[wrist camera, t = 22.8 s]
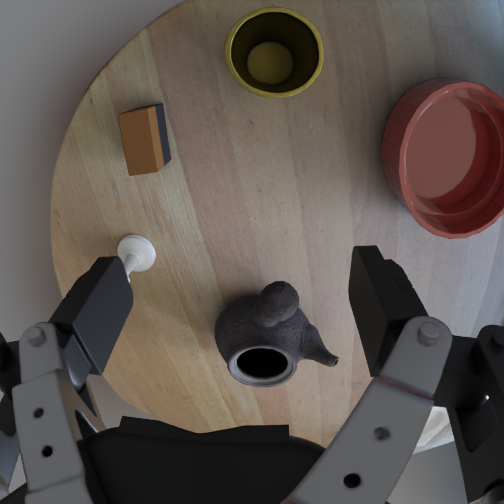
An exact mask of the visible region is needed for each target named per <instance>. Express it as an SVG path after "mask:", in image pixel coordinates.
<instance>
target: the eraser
mask: <svg viewBox="0 0 504 504" xmlns="http://www.w3.org/2000/svg"><path fill="white" fill-rule="evenodd" d="M118 119H119V125H120V130H121V136H122V142H123V147H124V152H125V157H126V162H127V167H128V172H129V176H132V175H139V174H146V173H154V172H158V171H159V170H160V169H161V168H162V167H163V166H165V165H166V164H167V163H168V162H169V161H170V160H171V156H170V149H169V143H168V136H167V130H166V123H165V116H164V109H163V103H162V104H156V105H151V106H145V107H140V108H136V109H132V110H129V111H126V112H123V113H120V114H118Z"/></svg>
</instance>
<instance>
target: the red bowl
mask: <svg viewBox="0 0 504 504" xmlns="http://www.w3.org/2000/svg"><path fill="white" fill-rule="evenodd" d="M382 162H383V167H384V173H385V177H386V180H387V182H388V184H389V186H390V188H391V191H392V193H393V195H394V196H395V197H396V198H397V199H398V200H399V202H400V203H401V204H402V205H403V206H404V207H405V208H406V210H407V211H408V212H409V213H410V214H411V215H412V216H413V217H414V219H415V220H416V221H417V222H418V223H419V224H420V225H421V226H422V227H423V228H425V229H426V230H428V231H429V232H431V233H432V234H434V235H437V236H441V237H445V238H448V239H453V238H466V237H469V236H472V235H475V234H478V233H480V232H482V231H483V230H485V229H486V228H488V227H489V226H491V225H492V224H494V223H495V222H496V221H497V219H498V218H499V217H500V216H501V215H502V214H503V213H504V100H503V99H502V98H501V97H500V96H499V95H498V94H497V93H496V92H494V91H492V90H491V89H489V88H488V87H486V86H484V85H481V84H477V83H473V82H468V81H462V80H455V79H447V78H440V79H433V80H427V81H425V82H423V83H421V84H419V85H417V86H415V87H413V88H411V89H410V90H409V91H408V92H407V93H406V94H405V95H404V96H403V97H402V98H401V99H400V100H399V101H398V102H397V104H396V106H395V107H394V109H393V111H392V113H391V114H390V116H389V118H388V120H387V124H386V127H385V131H384V135H383V139H382Z"/></svg>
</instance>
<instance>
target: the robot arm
mask: <svg viewBox="0 0 504 504" xmlns="http://www.w3.org/2000/svg"><path fill="white" fill-rule="evenodd" d="M348 291H349V301H350V305H351V308H352V311H353V315H354V318H355V321H356V325H357V328H358V331H359V335H360V338H361V342H362V346H363V349H364V353H365V356H366V360H367V364H368V368H369V371H370V375H371V377H374V378H373V379H372V381H371V382H370V384H369V386H368V387H367V389H366V390H365V392H364V394H363V395H362V397H361V399H360V400H359V402H358V403H357V405H356V406H355V408H354V409H353V411H352V413H351V414H350V416H349V417H348V419H347V420H346V422H345V423H344V425H343V426H342V427H341V429H340V430H339V432H338V433H337V435H336V436H335V437H334V439H333V440H332V442H331V443H330V444H329V446H328V447H327V449H326V448H324V447H322V446H320V445H319V444H316V443H314V442H311V441H309V440H306V439H302V438H299V437H294V436H289V425H245V426H240V427H235V428H230V429H225V430H219V431H213V432H208V433H194V432H191V431H188V430H185V429H182V428H179V427H176V426H173V425H170V424H167V423H164V422H161V421H158V420H149V419H142V418H134V417H127V416H122V419H121V422H120V425H119V427H114V428H109V429H106V427H105V425H104V423H103V421H102V419H101V415H100V413H99V410H98V407H97V405H96V402H95V399H94V396H93V393H92V390H91V388H90V385H89V383H88V381H87V380H86V378H87V376H88V374H94V375H102V373H103V371H104V369H105V366H106V364H107V362H108V359H109V357H110V355H111V352H112V350H113V348H114V345H115V343H116V341H117V339H118V337H119V334H120V332H121V330H122V328H123V326H124V323H125V321H126V319H127V317H128V315H129V313H130V311H131V308H132V305H133V293H132V289H131V286H130V283H129V280H128V277H127V274H126V271H125V268H124V265H123V262H122V260H121V258H120V257H119V256H109V257H99V258H98V259H97V260H96V261H95V263H94V264H93V265H92V267H91V268H90V270H89V271H87V272H86V273H85V274H83V275H82V276H81V277H80V278H78V279H77V281H76V282H75V283H74V285H73V286H72V288H71V290H69V292H68V293H67V295H66V298H64V299H63V300H62V302H61V303H60V305H59V306H58V308H57V309H56V311H55V312H54V314H53V315H52V317H51V318H50V320H49V321H48V322H40V323H37V324H34V325H33V326H31V327H29V328H28V329H27V330H26V331H25V332H24V333H23V335H22V336H21V338H20V340H19V341H14V342H6V340H5V338H4V337H3V336H2V334H1V333H0V390H1V391H2V392H3V393H4V396H3V398H2V400H1V402H0V504H390V503H389V502H387V499H388V497H389V496H390V494H391V492H392V491H393V489H394V487H395V485H396V484H397V482H398V480H399V478H400V476H401V474H402V473H403V471H404V469H405V467H406V465H407V463H408V461H409V459H410V457H411V455H412V453H413V451H414V449H415V447H416V445H417V443H418V441H419V438H420V436H421V434H422V432H423V429H424V427H425V425H426V423H427V420H428V418H429V415H430V413H431V410H432V408H433V406H434V407H445V408H446V410H447V413H448V417H449V420H450V424H451V428H452V432H453V435H454V439H455V443H456V447H457V452H458V456H459V460H460V465H461V470H462V474H463V479H464V484H465V490H466V496H467V501H468V504H504V327H502V326H498V325H487V326H485V327H483V328H482V329H481V330H480V332H479V334H478V336H477V338H470V337H462V336H455V335H452V333H451V331H450V329H449V328H448V327H447V326H446V325H445V324H444V323H443V322H442V321H440V320H438V319H436V318H433V317H429V315H428V314H427V312H426V310H425V308H424V306H423V304H422V302H421V300H420V299H419V297H418V295H417V293H416V291H415V290H414V288H412V284H411V282H410V281H409V280H408V277H407V275H406V274H405V272H404V270H403V269H402V267H400V266H399V265H398V264H397V263H395V262H394V261H393V260H391V259H389V260H384V258H383V256H382V254H381V253H380V251H379V249H378V247H377V246H376V245H372V246H354V248H353V251H352V260H351V269H350V278H349V288H348ZM19 453H20V454H21V459H22V464H23V469H24V473H25V477H26V481H27V482H26V483H25V484H23V485H22V486H21V487H19V488H17V489H16V490H15V491H13V492H12V493H9V491H8V488H9V485H10V481H11V478H12V475H13V471H14V468H15V465H16V462H17V459H18V456H19Z"/></svg>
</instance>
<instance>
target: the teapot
mask: <svg viewBox="0 0 504 504" xmlns="http://www.w3.org/2000/svg"><path fill="white" fill-rule="evenodd" d="M298 305H299V297H298V294H297V291H296V290H295V289H294V288H293V287H292V286H291V285H290V284H289V283H287V282H284V281H275V282H273V283H271V284H269V285H267V286H266V287H265V288H264V289H263V290H262V292H261V294H260V295H254V296H248V297H244V298H242V299H239V300H237V301H235V302H233V303H232V304H230V305H228V306H227V307H226V308H225V309H224V310H223V311H222V313H221V314H220V316H219V318H218V320H217V322H216V326H215V340H216V344H217V347H218V350H219V352H220V354H221V355H222V357H223V359H224V360H225V362H226V363H227V368H228V370H229V372H230V374H231V375H232V376H233V378H235V379H236V380H238V381H239V382H241V383H243V384H246V385H250V386H254V387H272V386H276V385H280V384H282V383H284V382H286V381H287V380H289V379H290V378H291V377H292V376H293V375H294V373H295V371H296V369H297V363H298V362H299V361H300V360H302V359H310V360H314V361H317V362H319V363H321V364H324V365H326V366H329V367H334V366H335V365H336V364H337V362H338V361H339V357H337V356H335V355H332V354H331V353H330V352H329V351H328V350H327V349H326V347H325V346H324V344H323V342H322V339H321V337H320V335H319V333H318V330H317V329H316V328H315V327H314V326H313V325H311V324H310V323H309V321H308V319H307V318H306V316H305V315H304V313H303V312H302V311H301V309H299V308H298Z"/></svg>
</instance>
